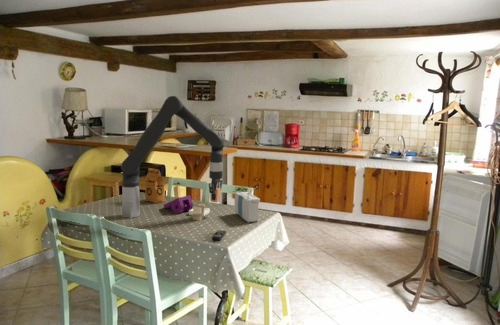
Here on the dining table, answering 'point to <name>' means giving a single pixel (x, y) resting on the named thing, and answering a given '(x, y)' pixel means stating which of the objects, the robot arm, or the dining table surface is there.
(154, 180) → the coffee package
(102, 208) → the dining table surface
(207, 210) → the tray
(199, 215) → the birch block
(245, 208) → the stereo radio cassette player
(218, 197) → the terracotta block
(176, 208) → the mounting bracket
